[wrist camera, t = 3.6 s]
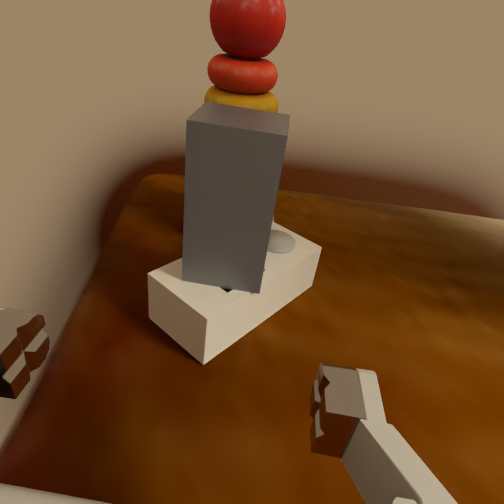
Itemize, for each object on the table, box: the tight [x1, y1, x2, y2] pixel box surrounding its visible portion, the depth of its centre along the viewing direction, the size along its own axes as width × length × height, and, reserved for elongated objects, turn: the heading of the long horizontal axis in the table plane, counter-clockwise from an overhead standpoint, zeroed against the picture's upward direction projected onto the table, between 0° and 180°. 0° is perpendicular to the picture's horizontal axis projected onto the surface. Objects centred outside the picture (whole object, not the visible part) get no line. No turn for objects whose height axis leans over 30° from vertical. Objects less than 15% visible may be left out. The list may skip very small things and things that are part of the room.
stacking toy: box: [204, 0, 286, 222], centre depth 29 cm, size 8×8×19 cm
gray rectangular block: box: [182, 102, 290, 294], centre depth 21 cm, size 4×4×11 cm
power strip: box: [148, 221, 322, 365], centre depth 25 cm, size 11×5×4 cm, turn 138°
